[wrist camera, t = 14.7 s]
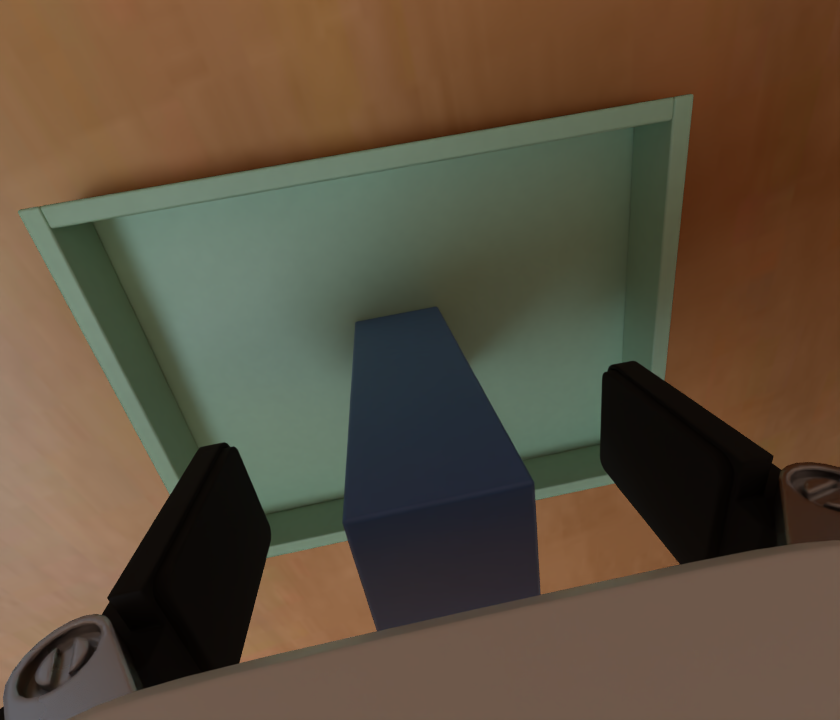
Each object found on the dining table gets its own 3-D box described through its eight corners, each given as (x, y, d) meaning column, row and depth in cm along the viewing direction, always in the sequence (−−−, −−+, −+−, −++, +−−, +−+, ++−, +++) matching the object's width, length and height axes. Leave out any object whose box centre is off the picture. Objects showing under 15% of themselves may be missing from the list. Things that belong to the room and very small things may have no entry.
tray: (642, 105, 14) (694, 93, 12) (623, 441, 20) (655, 475, 18) (74, 204, 13) (15, 210, 11) (228, 524, 19) (210, 571, 17)
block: (437, 305, 16) (536, 481, 7) (448, 379, 17) (542, 609, 8) (354, 321, 16) (340, 523, 7) (371, 394, 17) (380, 646, 8)
